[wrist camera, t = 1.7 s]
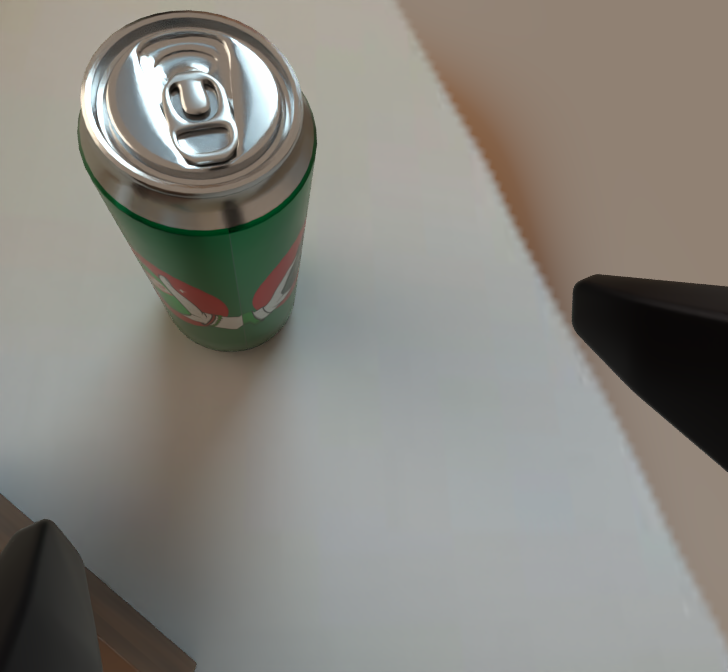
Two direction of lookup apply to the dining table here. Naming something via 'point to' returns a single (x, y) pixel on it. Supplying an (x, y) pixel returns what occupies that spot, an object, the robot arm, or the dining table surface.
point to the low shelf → (113, 619)
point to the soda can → (203, 168)
